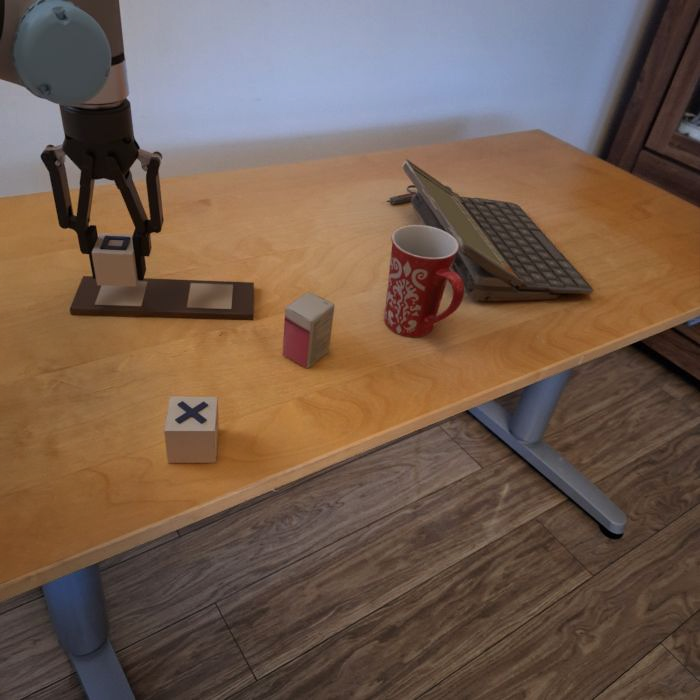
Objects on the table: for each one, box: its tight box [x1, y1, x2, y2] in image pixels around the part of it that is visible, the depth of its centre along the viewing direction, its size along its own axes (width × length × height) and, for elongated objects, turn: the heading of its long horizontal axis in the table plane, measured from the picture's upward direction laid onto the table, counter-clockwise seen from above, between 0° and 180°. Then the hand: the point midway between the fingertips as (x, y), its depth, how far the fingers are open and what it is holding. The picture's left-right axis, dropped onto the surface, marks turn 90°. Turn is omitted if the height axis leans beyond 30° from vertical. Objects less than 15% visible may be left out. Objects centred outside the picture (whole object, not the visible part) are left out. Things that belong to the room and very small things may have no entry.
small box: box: [282, 291, 336, 369], centre depth 79 cm, size 5×4×8 cm
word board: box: [69, 275, 255, 321], centre depth 87 cm, size 24×8×1 cm, turn 96°
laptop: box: [401, 159, 594, 302], centre depth 106 cm, size 26×32×10 cm
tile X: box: [163, 395, 220, 464], centre depth 66 cm, size 5×5×5 cm
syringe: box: [381, 184, 453, 205], centre depth 121 cm, size 8×18×2 cm, turn 124°
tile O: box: [92, 233, 138, 287], centre depth 82 cm, size 5×5×5 cm
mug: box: [383, 224, 465, 338], centre depth 84 cm, size 13×9×14 cm
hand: (120, 273), depth 84 cm, fingers closed on tile O, 5 cm apart
